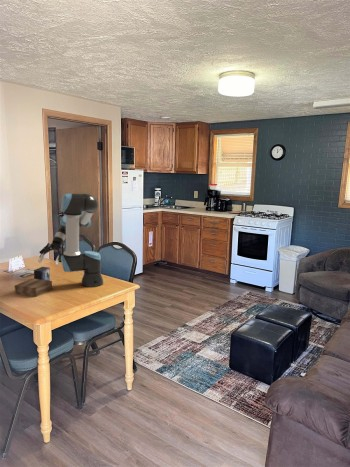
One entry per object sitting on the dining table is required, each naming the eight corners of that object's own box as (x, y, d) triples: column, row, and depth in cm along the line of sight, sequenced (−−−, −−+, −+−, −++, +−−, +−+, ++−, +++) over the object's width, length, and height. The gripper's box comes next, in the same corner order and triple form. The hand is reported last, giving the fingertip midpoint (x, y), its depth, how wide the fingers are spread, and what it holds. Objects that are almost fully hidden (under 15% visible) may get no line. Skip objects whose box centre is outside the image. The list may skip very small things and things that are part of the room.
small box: (42, 285, 236) (41, 270, 235) (33, 284, 237) (33, 270, 236) (50, 281, 246) (50, 267, 245) (42, 280, 248) (41, 266, 246)
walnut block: (52, 289, 230) (51, 281, 229) (36, 297, 215) (36, 288, 214) (32, 286, 234) (31, 278, 233) (15, 294, 219) (14, 285, 218)
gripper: (75, 243, 259) (64, 267, 248) (46, 240, 265) (35, 264, 254) (71, 237, 253) (60, 262, 242) (42, 235, 259) (30, 258, 248)
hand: (47, 263), depth 248 cm, fingers open, 13 cm apart
